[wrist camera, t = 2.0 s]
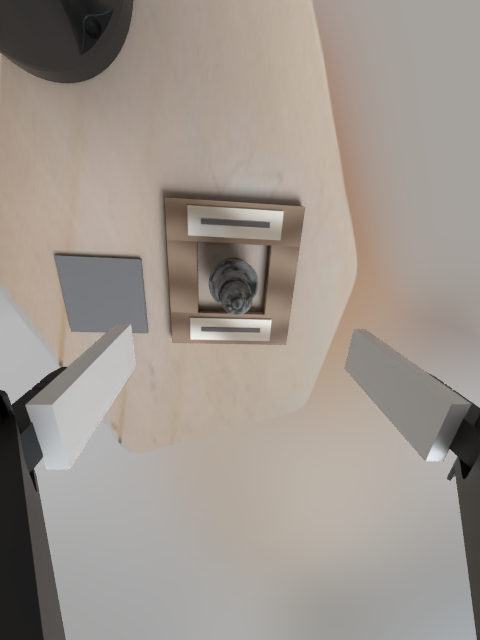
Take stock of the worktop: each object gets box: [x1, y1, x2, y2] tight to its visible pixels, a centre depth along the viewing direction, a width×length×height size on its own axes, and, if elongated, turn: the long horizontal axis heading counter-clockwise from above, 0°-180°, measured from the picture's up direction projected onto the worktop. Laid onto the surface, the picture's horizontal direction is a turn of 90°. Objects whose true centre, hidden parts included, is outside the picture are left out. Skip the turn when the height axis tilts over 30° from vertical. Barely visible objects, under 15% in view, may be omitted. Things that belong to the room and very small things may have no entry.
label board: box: [164, 197, 305, 345], centre depth 31 cm, size 18×16×2 cm
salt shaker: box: [209, 258, 259, 316], centre depth 26 cm, size 6×6×12 cm
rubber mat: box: [55, 255, 148, 333], centre depth 31 cm, size 10×10×1 cm
